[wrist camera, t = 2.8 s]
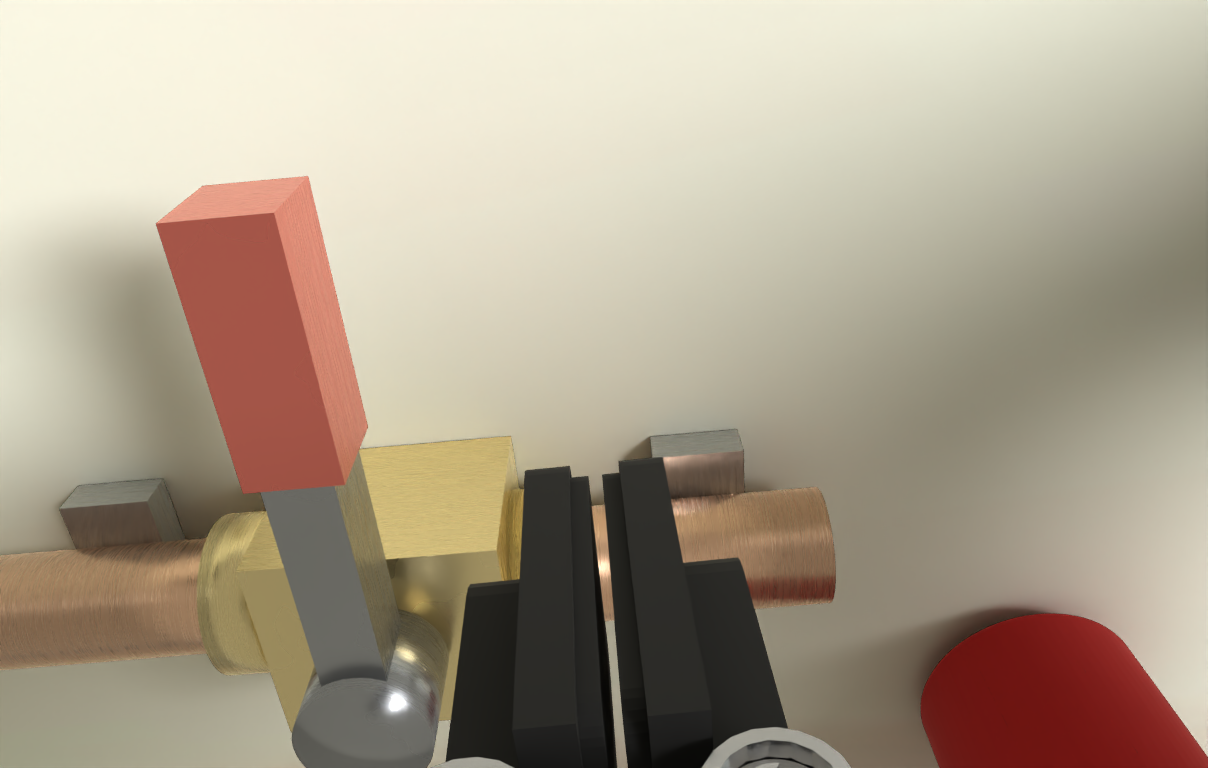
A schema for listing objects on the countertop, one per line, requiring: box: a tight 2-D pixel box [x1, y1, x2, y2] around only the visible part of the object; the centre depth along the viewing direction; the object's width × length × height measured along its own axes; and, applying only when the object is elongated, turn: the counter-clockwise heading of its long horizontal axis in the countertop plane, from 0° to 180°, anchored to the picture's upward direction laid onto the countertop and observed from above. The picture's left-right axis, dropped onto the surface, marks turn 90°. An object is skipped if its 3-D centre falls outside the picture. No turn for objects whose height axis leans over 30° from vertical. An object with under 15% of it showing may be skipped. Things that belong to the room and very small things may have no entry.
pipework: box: [0, 429, 836, 732], centre depth 25 cm, size 22×5×5 cm, turn 95°
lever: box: [156, 176, 449, 768], centre depth 19 cm, size 13×3×3 cm, turn 5°
